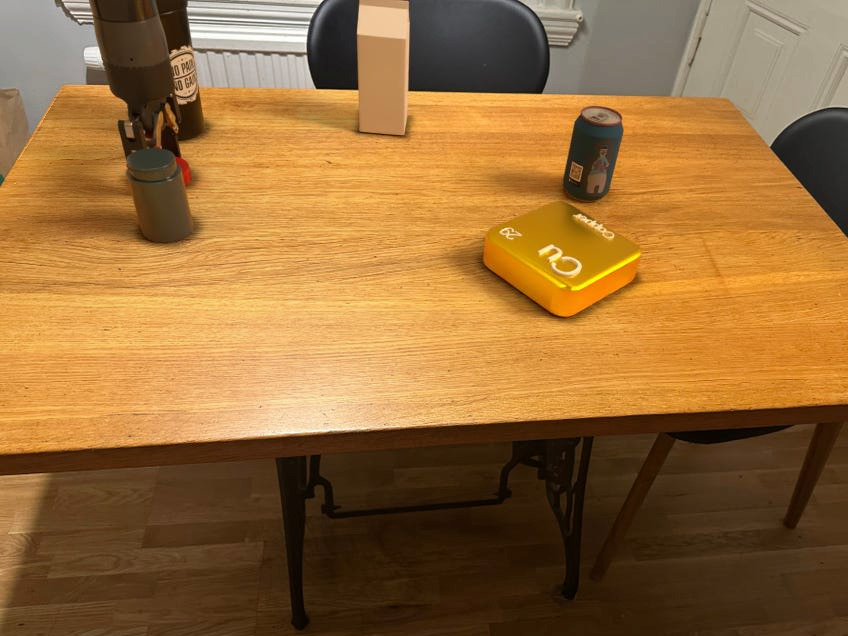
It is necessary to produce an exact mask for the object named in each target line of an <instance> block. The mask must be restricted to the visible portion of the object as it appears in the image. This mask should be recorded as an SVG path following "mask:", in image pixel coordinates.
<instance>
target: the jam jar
mask: <svg viewBox="0 0 848 636" xmlns="http://www.w3.org/2000/svg"><path fill="white" fill-rule="evenodd" d="M125 161H126V164H125V165H126V166H125V167H126V172H125V176H126V180H127V183H128V186H129V190H130V194H131V198H132V202H133V205H134V209H135V212H136V215H137V219H138V224H139V226H140V230H141V233H142V235H143V237H144V238H145V239H147V240H148V241H151V242H154V243H162V244H163V243H164V244H165V243H167V244H168V243H174V242H178V241H182V240H183V239H186V238H187V237H188V236H190V235H192V234H193V231H194V229H195V227H194V226H195V225H194V220H193V217H192V212H191V208H190V207H191V206H190V202H189V197H188V193H187V189H186V186H185V184H184V179H183V174H182V170H181V167H180V166H179V165H178V164H177V163H176V159H175V156H174V154H173V153H172V152H171V151H169V150H166V149H162V148H161V147H160V148H146V149H141V150H138V151H135V152H133V151H132V153H131V154H130V155H129V156H128V157H127V159H126V158H125Z"/></svg>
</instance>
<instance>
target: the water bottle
mask: <svg viewBox="0 0 848 636" xmlns="http://www.w3.org/2000/svg"><path fill="white" fill-rule="evenodd" d="M188 2H189V0H156V4H157V9H158V14H159V17H160V20H161V23H162V26H163V29H164V33H165V37H166V42H167V47H168V52H169V56H170V61H171V66H172V71H173V76H174V81H175V94H176V98H177V102H178V107H179V111H180V115H181V123H177V125H178V133H176V134H177V138H178V142H182V141H187V140H190V139H194V138H196V137H198V136H200V135H201V134H203V132H204V131H205V129H206V127H205V126H206V125H205V120H204V113H203V105H202V101H201V94H200V87H199V86H200V85H199V79H198V73H197V65H196V59H195V52H194V46H193V40H192V35H191V27H190V20H189V14H188V8H187V7H188V5H189V3H188ZM170 110H171V111H172V113H173V110H172V108H170ZM161 133H162V132H161Z"/></svg>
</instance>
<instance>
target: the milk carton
mask: <svg viewBox="0 0 848 636" xmlns="http://www.w3.org/2000/svg"><path fill="white" fill-rule="evenodd" d="M358 3H359V4H358V16H357V18H358V19H357V29H356V48H357V49H356V51H357V84H358V87H357V88H358V89H357V91H358V119H359V120H358V123H359V124H358V125H359V126H358V127H359V128H358V129H359V132H361V133H370V134H382V135H383V134H384V135H394V136H404V135H405V132H406V127H407V126H406V125H407V122H408V121H407V120H408V110H409V109H408V108H409V106H408V105H409V68H410V67H409V66H410V25H411V23H410V21H411V20H410V10H409V8H410V5H409V4H410V2H409V1H408V0H358Z"/></svg>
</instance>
